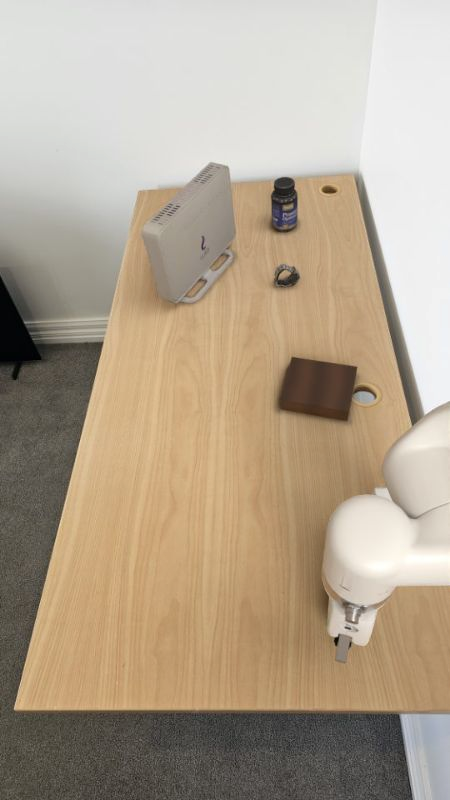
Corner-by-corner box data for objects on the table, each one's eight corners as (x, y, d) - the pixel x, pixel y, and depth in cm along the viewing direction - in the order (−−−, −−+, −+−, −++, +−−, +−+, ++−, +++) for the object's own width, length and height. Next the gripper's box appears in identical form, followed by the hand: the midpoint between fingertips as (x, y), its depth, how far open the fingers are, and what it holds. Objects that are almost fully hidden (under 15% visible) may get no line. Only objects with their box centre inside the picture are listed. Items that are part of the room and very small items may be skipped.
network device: (184, 316, 106) (166, 236, 90) (152, 303, 109) (128, 225, 93) (245, 246, 118) (238, 164, 102) (214, 236, 121) (202, 156, 105)
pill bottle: (284, 236, 118) (284, 193, 109) (266, 226, 121) (264, 183, 112) (302, 223, 120) (303, 181, 111) (284, 214, 123) (283, 171, 114)
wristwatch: (287, 292, 109) (302, 276, 106) (269, 281, 107) (284, 264, 104) (285, 284, 111) (300, 268, 108) (267, 273, 109) (282, 256, 106)
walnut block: (355, 376, 92) (357, 366, 90) (347, 421, 87) (349, 411, 84) (291, 366, 95) (291, 356, 93) (279, 409, 90) (279, 399, 87)
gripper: (386, 670, 47) (365, 691, 61) (403, 506, 56) (381, 559, 70) (306, 647, 49) (304, 673, 63) (335, 492, 58) (327, 546, 72)
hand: (345, 612), depth 67 cm, fingers closed on green cube, 4 cm apart
